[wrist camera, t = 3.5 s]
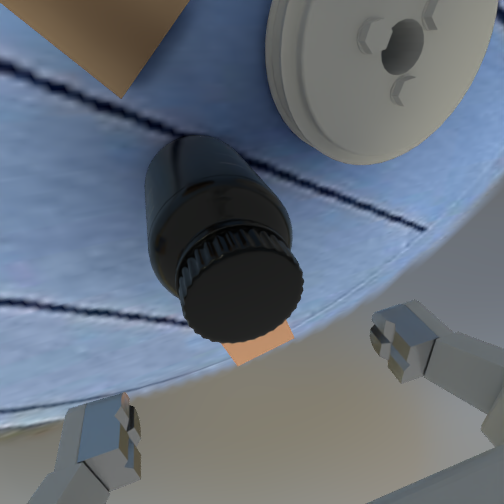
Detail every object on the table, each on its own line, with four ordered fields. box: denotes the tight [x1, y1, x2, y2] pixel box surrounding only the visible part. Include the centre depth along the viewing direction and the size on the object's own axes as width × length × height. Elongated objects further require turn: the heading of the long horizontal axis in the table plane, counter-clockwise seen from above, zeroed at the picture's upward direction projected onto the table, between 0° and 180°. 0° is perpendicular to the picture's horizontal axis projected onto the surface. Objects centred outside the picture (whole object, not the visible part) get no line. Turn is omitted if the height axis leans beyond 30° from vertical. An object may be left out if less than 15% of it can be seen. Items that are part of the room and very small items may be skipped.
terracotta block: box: [221, 320, 294, 366], centre depth 26 cm, size 5×5×5 cm
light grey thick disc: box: [265, 0, 498, 165], centre depth 18 cm, size 13×13×5 cm
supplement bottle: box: [145, 135, 304, 344], centre depth 17 cm, size 7×7×12 cm
